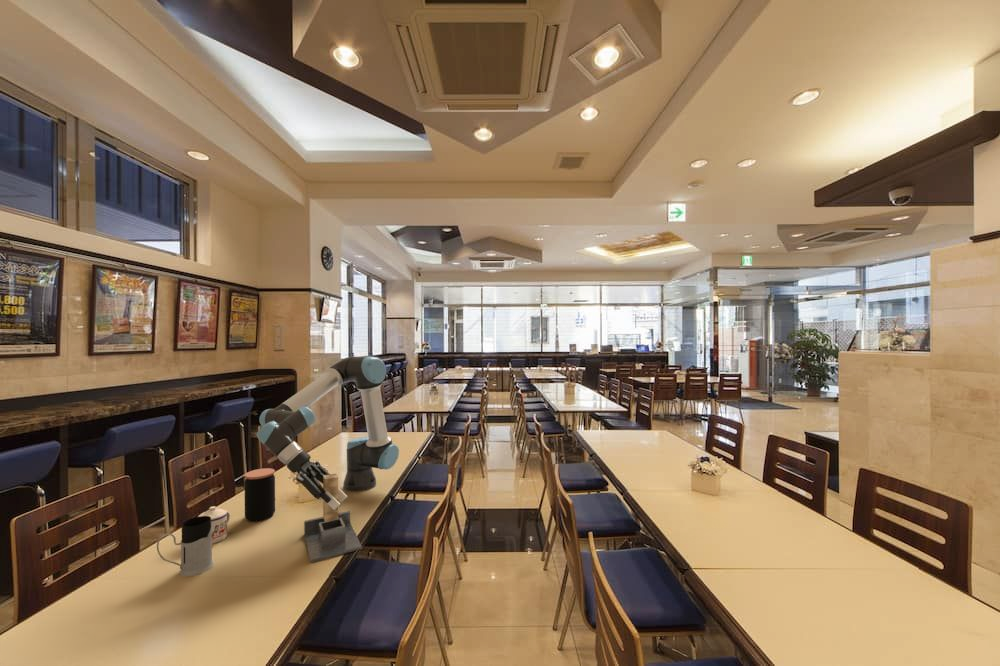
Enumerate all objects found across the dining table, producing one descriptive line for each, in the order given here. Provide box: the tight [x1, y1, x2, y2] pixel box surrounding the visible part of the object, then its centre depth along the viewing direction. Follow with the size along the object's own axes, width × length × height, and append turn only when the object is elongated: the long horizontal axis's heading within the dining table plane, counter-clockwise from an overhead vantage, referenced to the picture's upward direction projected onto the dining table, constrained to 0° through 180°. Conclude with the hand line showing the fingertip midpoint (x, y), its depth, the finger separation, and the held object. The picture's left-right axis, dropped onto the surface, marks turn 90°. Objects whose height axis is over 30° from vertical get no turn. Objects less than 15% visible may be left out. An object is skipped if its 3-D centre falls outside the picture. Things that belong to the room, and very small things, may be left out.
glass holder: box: [156, 516, 215, 578], centre depth 127 cm, size 9×14×15 cm, turn 141°
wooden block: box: [322, 473, 339, 522], centre depth 144 cm, size 4×4×15 cm
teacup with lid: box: [197, 505, 230, 545], centre depth 149 cm, size 12×9×12 cm
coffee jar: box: [244, 467, 276, 523], centre depth 165 cm, size 11×11×18 cm
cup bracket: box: [303, 510, 363, 564], centre depth 145 cm, size 16×22×6 cm
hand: (340, 503), depth 144 cm, fingers closed on wooden block, 6 cm apart
